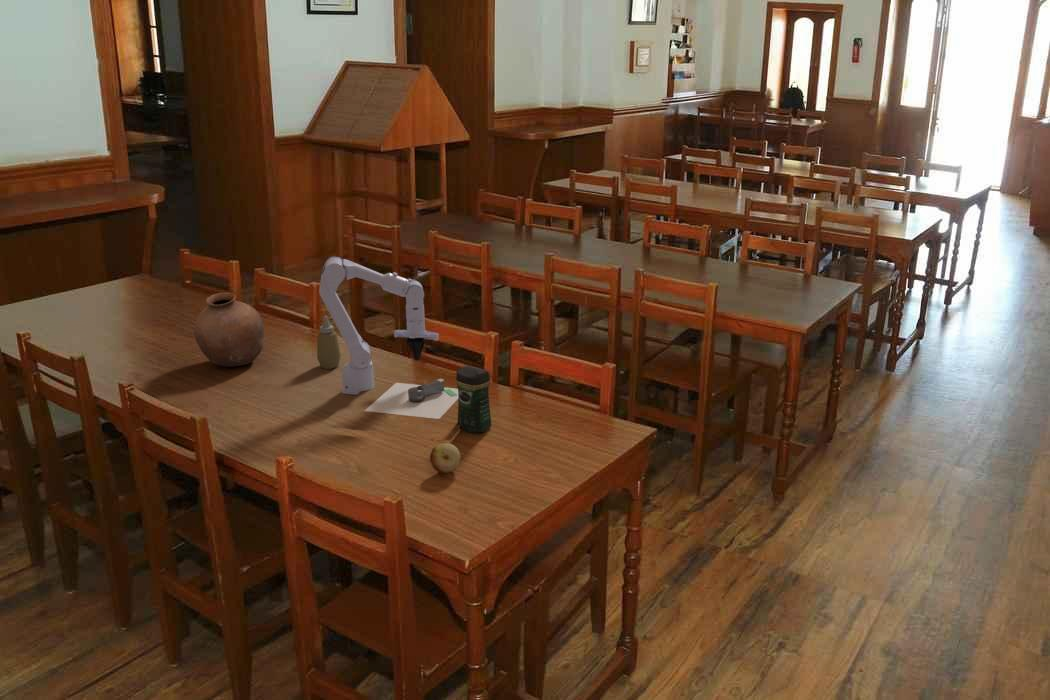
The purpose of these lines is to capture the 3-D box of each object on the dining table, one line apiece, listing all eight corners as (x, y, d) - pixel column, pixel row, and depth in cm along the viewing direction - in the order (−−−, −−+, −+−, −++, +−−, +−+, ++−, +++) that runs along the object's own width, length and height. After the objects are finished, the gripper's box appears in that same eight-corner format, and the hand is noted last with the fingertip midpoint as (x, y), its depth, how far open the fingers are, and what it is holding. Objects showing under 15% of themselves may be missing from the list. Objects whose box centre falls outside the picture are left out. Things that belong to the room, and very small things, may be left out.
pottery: (264, 349, 345) (257, 282, 336) (269, 370, 324) (261, 300, 316) (198, 356, 338) (189, 289, 330) (199, 379, 317) (189, 307, 309)
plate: (364, 415, 287) (364, 410, 286) (396, 386, 309) (396, 382, 308) (439, 423, 281) (439, 418, 280) (466, 394, 302) (466, 389, 302)
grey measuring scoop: (414, 403, 291) (413, 391, 289) (405, 398, 294) (404, 386, 293) (447, 393, 298) (447, 381, 297) (438, 388, 302) (437, 377, 301)
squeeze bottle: (313, 368, 325) (308, 318, 319) (326, 361, 332) (322, 312, 326) (333, 371, 322) (329, 321, 316) (346, 364, 329) (342, 314, 323)
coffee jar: (496, 427, 278) (494, 367, 271) (477, 436, 272) (475, 375, 266) (471, 419, 283) (469, 360, 277) (453, 427, 278) (450, 368, 272)
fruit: (426, 476, 248) (424, 448, 246) (439, 463, 256) (438, 436, 253) (452, 481, 246) (451, 453, 243) (465, 467, 253) (464, 440, 251)
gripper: (389, 321, 299) (391, 361, 304) (432, 324, 295) (434, 365, 300) (398, 314, 306) (400, 354, 310) (440, 318, 302) (442, 358, 306)
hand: (417, 359), depth 305 cm, fingers closed
